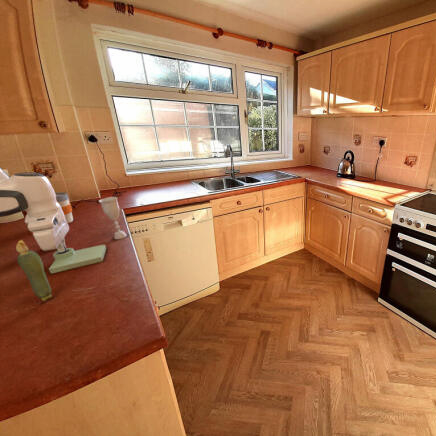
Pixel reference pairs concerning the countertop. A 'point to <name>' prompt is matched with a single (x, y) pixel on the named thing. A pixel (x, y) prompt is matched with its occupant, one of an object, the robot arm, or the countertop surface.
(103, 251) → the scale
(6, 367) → the countertop surface
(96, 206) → the countertop surface
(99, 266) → the countertop surface
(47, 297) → the vegetable
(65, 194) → the reusable coffee cup
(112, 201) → the chalice
